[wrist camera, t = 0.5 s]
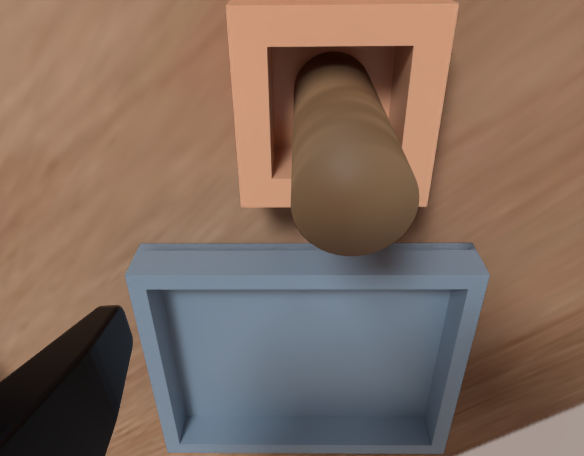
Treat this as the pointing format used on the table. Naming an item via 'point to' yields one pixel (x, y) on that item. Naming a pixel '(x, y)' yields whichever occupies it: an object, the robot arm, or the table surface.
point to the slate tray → (306, 344)
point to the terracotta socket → (341, 38)
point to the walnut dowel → (347, 161)
